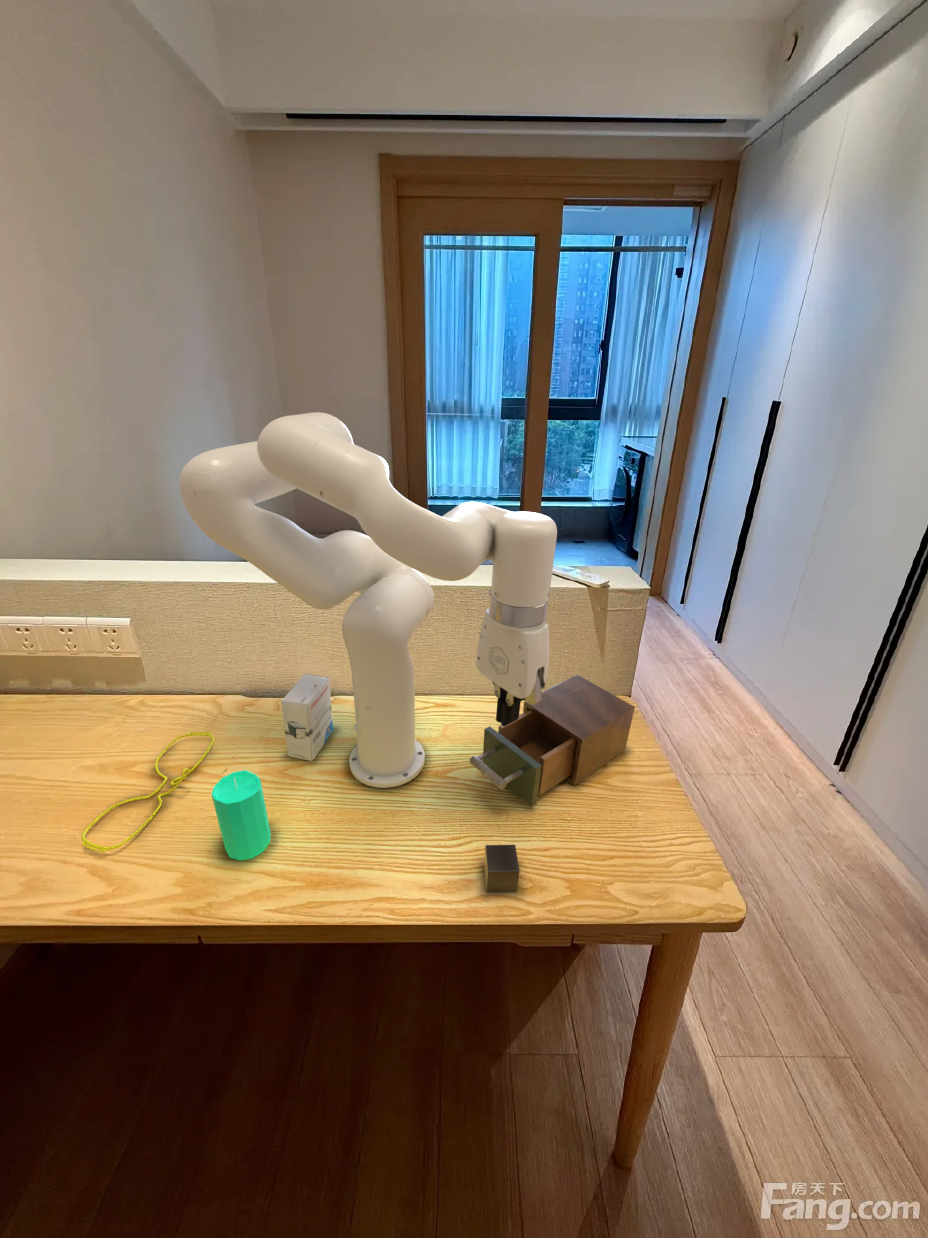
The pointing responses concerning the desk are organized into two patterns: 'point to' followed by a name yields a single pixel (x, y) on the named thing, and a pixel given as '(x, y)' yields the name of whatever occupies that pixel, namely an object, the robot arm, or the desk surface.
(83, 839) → the yellow rope loop
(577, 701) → the cabinet
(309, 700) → the ink box
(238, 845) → the candle
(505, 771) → the drawer
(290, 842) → the desk surface
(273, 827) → the desk surface
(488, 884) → the block
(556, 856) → the desk surface
